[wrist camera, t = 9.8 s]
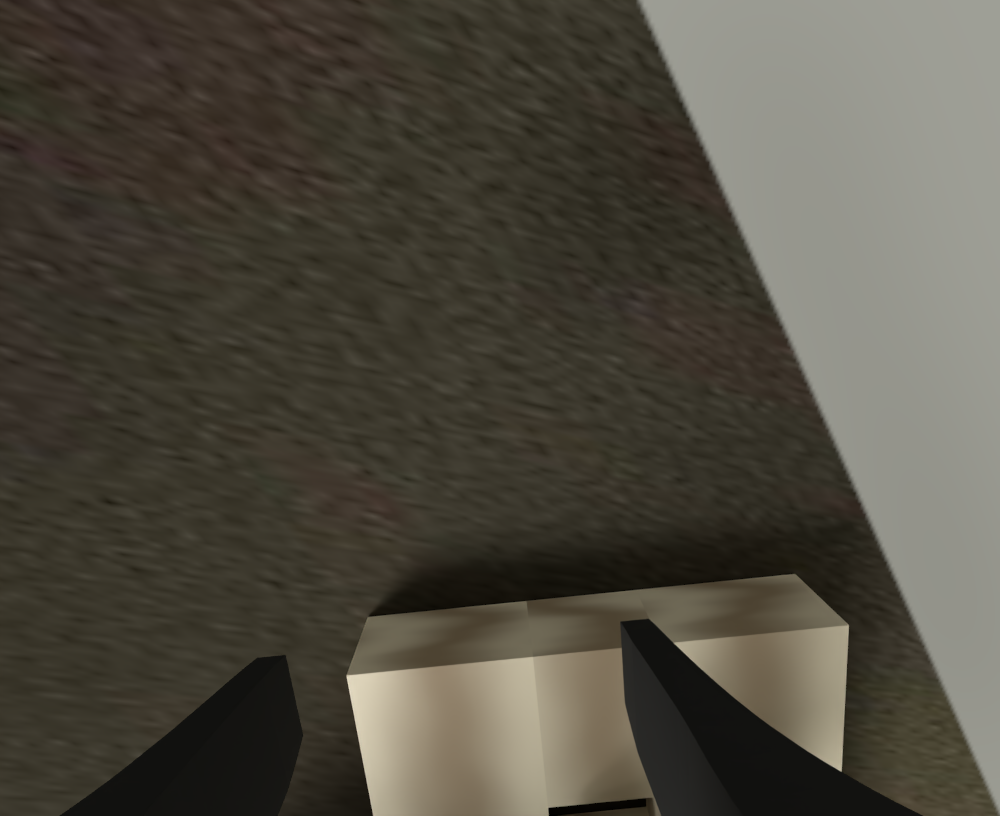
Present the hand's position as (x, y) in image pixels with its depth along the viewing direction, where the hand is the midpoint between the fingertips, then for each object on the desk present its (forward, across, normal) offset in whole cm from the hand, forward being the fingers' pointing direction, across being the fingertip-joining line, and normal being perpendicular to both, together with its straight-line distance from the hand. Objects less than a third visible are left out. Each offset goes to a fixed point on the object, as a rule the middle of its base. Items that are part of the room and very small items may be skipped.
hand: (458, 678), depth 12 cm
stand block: (+10, -4, +14) cm, 18 cm away
